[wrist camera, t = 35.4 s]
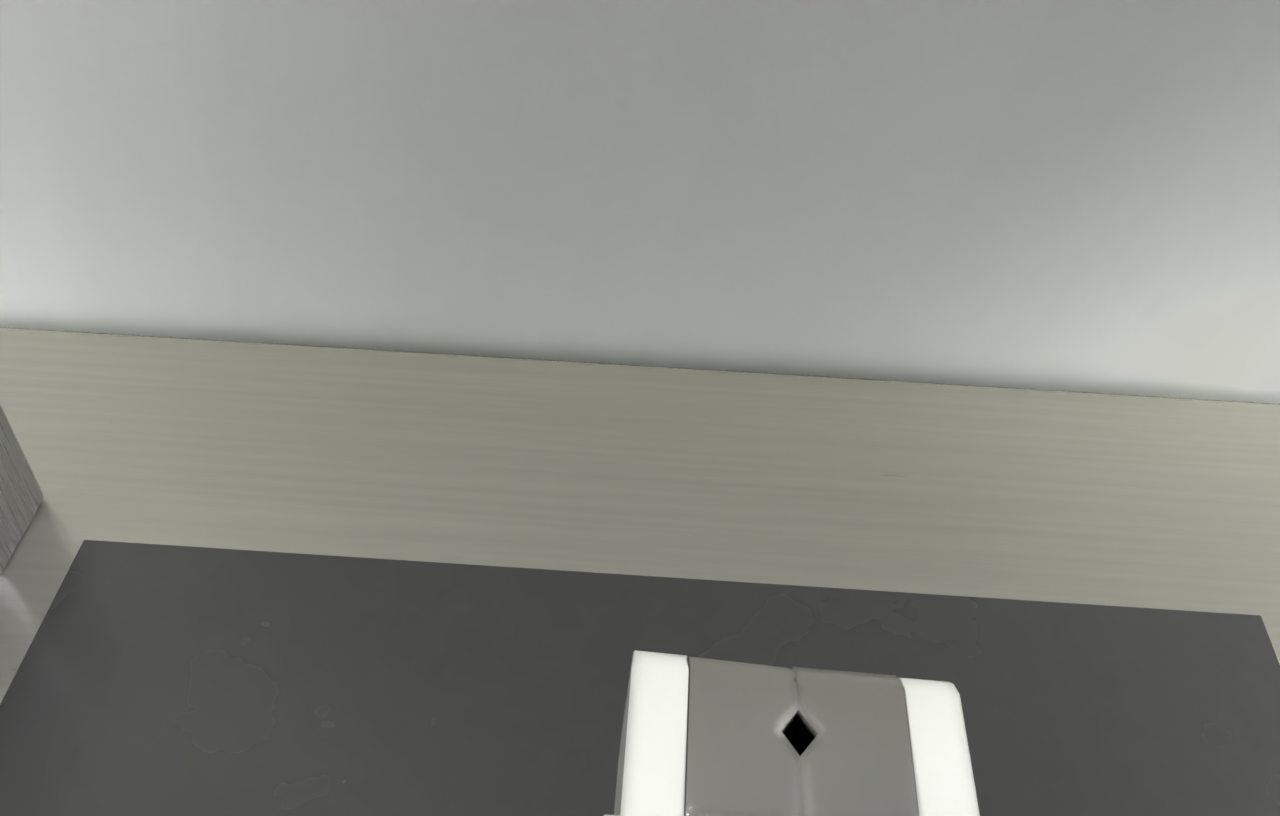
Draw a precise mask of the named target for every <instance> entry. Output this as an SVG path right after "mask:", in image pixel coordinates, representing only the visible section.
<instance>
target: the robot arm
mask: <svg viewBox="0 0 1280 816" xmlns="http://www.w3.org/2000/svg"><path fill="white" fill-rule="evenodd" d="M604 816H980V813H979V807H978V801H977V795H976V789H975V783H974V777H973V771H972V765H971V759H970V753H969V747H968V741H967V735H966V729H965V722H964V716H963V710H962V704H961V698H960V694H959V692H958V691H957V689H956V687H955V686H954V684H953V683H951V682H949V681H936V680H924V679H912V678H899V677H896V676H895V675H886V674H874V673H862V672H850V671H838V670H826V669H814V668H802V667H792V668H787V667H778V666H769V665H761V664H752V663H743V662H734V661H725V660H717V659H708V658H699V657H690V656H689V657H687V655H677V654H667V653H657V652H646V651H636V650H635V651H634V652H633V655H632V662H631V669H630V676H629V683H628V690H627V697H626V704H625V711H624V719H623V727H622V735H621V743H620V752H619V760H618V770H617V782H616V794H615V806H614V815H604Z"/></svg>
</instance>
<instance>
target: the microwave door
mask: <svg viewBox="0 0 1280 816" xmlns="http://www.w3.org/2000/svg"><path fill="white" fill-rule="evenodd" d="M635 650H636V651H646V652H657V653H667V654H677V655H687V657H689V656H690V657H699V658H708V659H717V660H725V661H734V662H743V663H752V664H761V665H769V666H778V667H787V668H792V667H802V668H814V669H826V670H838V671H850V672H862V673H874V674H886V675H895V676H896V677H899V678H912V679H924V680H936V681H949V682H951V683H953V684H954V686H955V687H956V689H957V691H958V692H959V694H960V698H961V704H962V710H963V716H964V722H965V729H966V735H967V741H968V747H969V753H970V759H971V765H972V771H973V777H974V783H975V789H976V795H977V801H978V807H979V813H980V816H1280V404H1265V403H1248V402H1231V401H1215V400H1198V399H1182V398H1165V397H1148V396H1132V395H1115V394H1098V393H1082V392H1065V391H1048V390H1032V389H1015V388H999V387H982V386H965V385H949V384H932V383H915V382H899V381H882V380H866V379H849V378H832V377H816V376H799V375H782V374H766V373H749V372H732V371H716V370H699V369H683V368H666V367H649V366H633V365H616V364H599V363H583V362H566V361H550V360H533V359H516V358H500V357H483V356H466V355H450V354H433V353H416V352H400V351H383V350H367V349H350V348H333V347H317V346H300V345H283V344H267V343H250V342H234V341H217V340H200V339H184V338H167V337H150V336H134V335H117V334H100V333H84V332H67V331H51V330H34V329H17V328H1V327H0V816H604V815H614V806H615V794H616V782H617V770H618V760H619V752H620V743H621V735H622V727H623V719H624V711H625V704H626V697H627V690H628V683H629V676H630V669H631V662H632V655H633V652H634V651H635Z"/></svg>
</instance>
